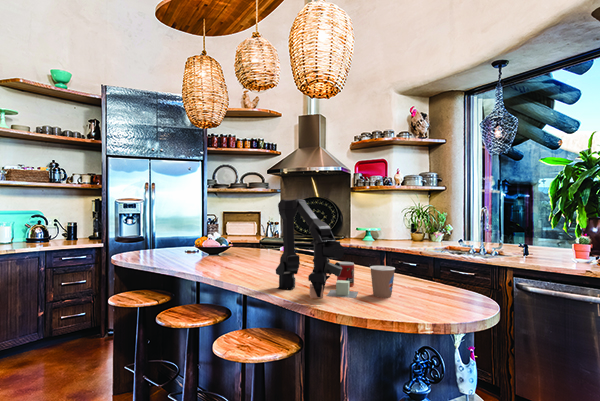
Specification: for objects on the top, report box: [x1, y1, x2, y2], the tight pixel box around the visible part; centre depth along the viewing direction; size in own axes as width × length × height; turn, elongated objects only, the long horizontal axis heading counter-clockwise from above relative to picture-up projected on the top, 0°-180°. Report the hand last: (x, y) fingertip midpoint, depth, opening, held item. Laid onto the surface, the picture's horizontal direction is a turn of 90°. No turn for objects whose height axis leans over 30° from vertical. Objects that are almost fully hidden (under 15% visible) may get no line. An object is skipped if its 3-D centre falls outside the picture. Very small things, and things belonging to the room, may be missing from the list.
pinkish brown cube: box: [309, 283, 324, 299], centre depth 147 cm, size 5×5×5 cm
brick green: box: [335, 280, 351, 295], centre depth 153 cm, size 5×5×5 cm
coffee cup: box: [369, 265, 396, 299], centre depth 151 cm, size 10×10×12 cm
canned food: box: [336, 261, 355, 288], centre depth 170 cm, size 8×8×11 cm
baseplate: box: [326, 289, 359, 299], centre depth 153 cm, size 12×12×1 cm
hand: (320, 295), depth 147 cm, fingers closed on pinkish brown cube, 5 cm apart
